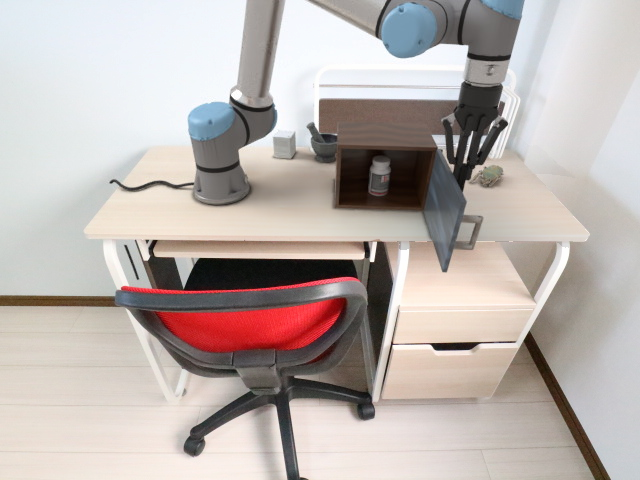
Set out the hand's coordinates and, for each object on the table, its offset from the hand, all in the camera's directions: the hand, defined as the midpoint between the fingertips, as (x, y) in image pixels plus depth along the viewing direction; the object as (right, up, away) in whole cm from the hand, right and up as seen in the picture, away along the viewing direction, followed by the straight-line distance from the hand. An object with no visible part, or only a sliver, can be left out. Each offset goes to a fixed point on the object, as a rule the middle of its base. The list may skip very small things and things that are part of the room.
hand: (457, 192), depth 86 cm
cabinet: (-15, +2, +23) cm, 27 cm away
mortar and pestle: (-30, +16, +42) cm, 54 cm away
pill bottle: (-15, +3, +22) cm, 27 cm away
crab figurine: (+20, +7, +31) cm, 37 cm away
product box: (-43, +18, +44) cm, 64 cm away
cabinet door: (-1, -11, +6) cm, 12 cm away
